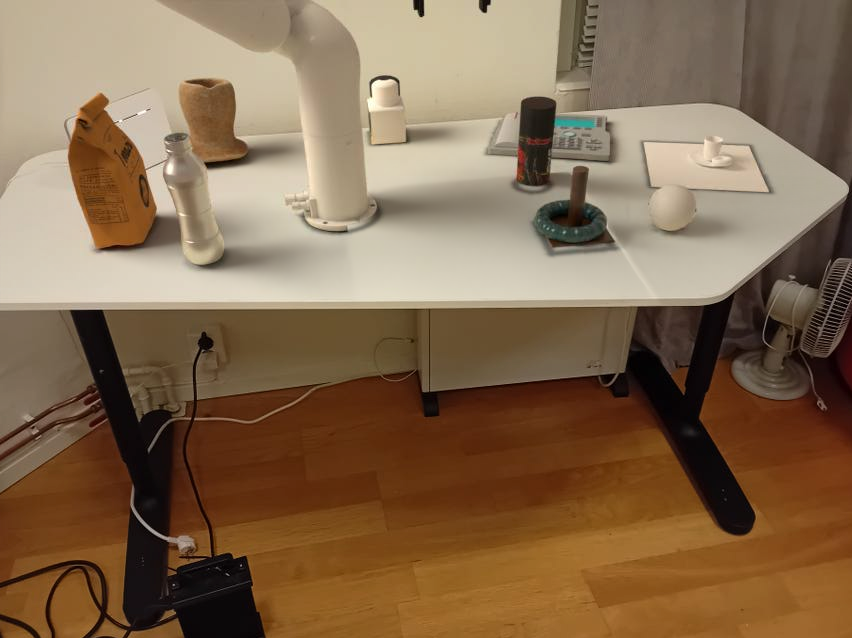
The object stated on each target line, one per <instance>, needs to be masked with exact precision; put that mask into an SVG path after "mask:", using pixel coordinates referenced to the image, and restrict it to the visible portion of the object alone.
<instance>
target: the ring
mask: <svg viewBox="0 0 852 638" xmlns="http://www.w3.org/2000/svg"><path fill="white" fill-rule="evenodd" d="M569 200H570V199H560V200H554V201H551V202H548V203H545V204H544V205H542V206H540V208H538V209H537V210H536V212H535V215H534V218H533V224H534V225H535V228H536V229H537V231H538V232H539V233H540V234H542V235H543V236H544V237H545V238H546V237H548V238H550V239H553V240H556V241H560V242H568V243H578V242H587V241H590V240H592V239H595V238H597V237H599V236H600V235H601V234H602V233H603V232H604V231H605V230H606V228H607V226H608V217H607V216H606V214H605V212H604V211H603V210H602V209H601V208H600V207H598V206H596V205H594V204H593V203H590V202H587V201H585V206H584V214H583V217H584V218H586V219H588V220H589V221H591V223H590V224H589V225H586V226H582V227H566V226H561V225H558V224H555V223H553V222H552V221H550V219H551V218H552V217H555V216H558V215H568V209H569Z"/></svg>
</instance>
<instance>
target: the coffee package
mask: <svg viewBox="0 0 852 638" xmlns="http://www.w3.org/2000/svg"><path fill="white" fill-rule="evenodd" d="M109 103H110V100H109V98H108V97H106V95H104V93H102V92H98V93H97V94H96V95H94V96H93V97H92V98H91V99H90V100H88V101H87V102H86V103H84V104H83V105H82V106H80V107H79V109H78V111H77V115H76V117H75V122H74V123H75V124H74V128H73V131H72V133H71V138H70V141H69V143H68V150H67V151H68V152H67V161H68V167H69V172H70V177H71V181H72V184H73V187H74V191H75V195H76V198H77V202H78V203H79V206H80V208H81V211H82V214H83V217H84V219H85V222H86V224H87V227H88V229H89V232H90V235H91V239H92V240H93V244H94V247H95V248H97V249H104V248H108V247H113V246H134V245H137V244H142V243H144V242H145V240H146V239H147V236H148V234H149V232H150V230H151V228H152V226H153V224H154V221H155V218H156V215H157V211H158V207H157V204H156V202H155V198H154V194H153V192H152V190H151V189H152V188H151V186H150V183H149V179H148V173H147V169H146V167H145V163H144V159H143V157H142V155H141V153H140V151H139V149H138V147H137V146H136V144H135V143H134V142H133V140H132V139H131V138H130V137H129V135H127V134H126V132H124V130H122V129H121V128H120V127H119V126H118V125H116V123H115V122H114V120H113V118H112V117H111V116H110V114H109V113H108V111H107V110H105V108H107V107H108V105H109Z"/></svg>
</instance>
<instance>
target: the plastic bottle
mask: <svg viewBox="0 0 852 638" xmlns="http://www.w3.org/2000/svg"><path fill="white" fill-rule="evenodd" d="M163 142H164V146H165V147H164V148H165V150H164V151H165V153H166V154H167V155H168V154H169V155H168V157H167V156H166V159H165V162H164V164H163V168H162V177H163V180H164V183H165V185H166V188H167V190H168V192H169V195H170V197H171V199H172V202H173V205H174V208H175V212H176V215H177V218H178V225H179V230H180V242H181V249H182V252H183V254H184V256H185V257H186V259H187V260H188V261H189V262H190V263H192V264H194V265H200V266H201V265H203V266H205V265H210V264H213V263H215V262H218V261H219V260H220V259H221V258H222V256H223V254H224V251H225V241H224V238H223V235H222V232H221V231H220V228H219V227H218V224H217V223H218V222H217V220H216V217H215V215H214V211H213V207H212V201H211V195H210V186H209V175H208V168H207V166H206V164H205V163H204V162H203V161H202V160H201V159H200V158H199V157H198V156H197V155H196V154H195V153H193V152H192V149H193V147H192V144H191V141H190V134H188V133H187V132H181V131H180V132H179V131H177V132H172V133H169V134H166V135H165V136H164V137H163Z"/></svg>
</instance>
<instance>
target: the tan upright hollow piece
mask: <svg viewBox="0 0 852 638" xmlns="http://www.w3.org/2000/svg"><path fill="white" fill-rule="evenodd" d="M235 92H236V91H235V88H234V86H233V84H232V82H230V81H229V80H227V79H225V78H219V77H201V78H200V77H199V78H190V79H185V80H182V81H181V82H180V83H179V87H178V101H179V105H180V108H181V112H182V114H183V116H184V119H185V121H186V124H187V126H188V130H189V137H190V141H191V144H192V147H193V149H192V152H193V153H195V154H196V155H197V156H198V157H199V158H200V159H201V160H202V161H203V162H204V164H205V163H214V162H215V163H216V162H223V161H230V160H231V161H232V160H236V159H241V158H243V157H245V156H246V155H247V153H248V151H249V146H248V144H247V143H246V141H244V140H242V139H239V138H237V137H236V136H235V135H236V134H235V129H234V125H235V119H236V113H237V102H236V100H237V99H236V93H235ZM168 155H169V154H168V153H167V155H166V158H167V157H168Z"/></svg>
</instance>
